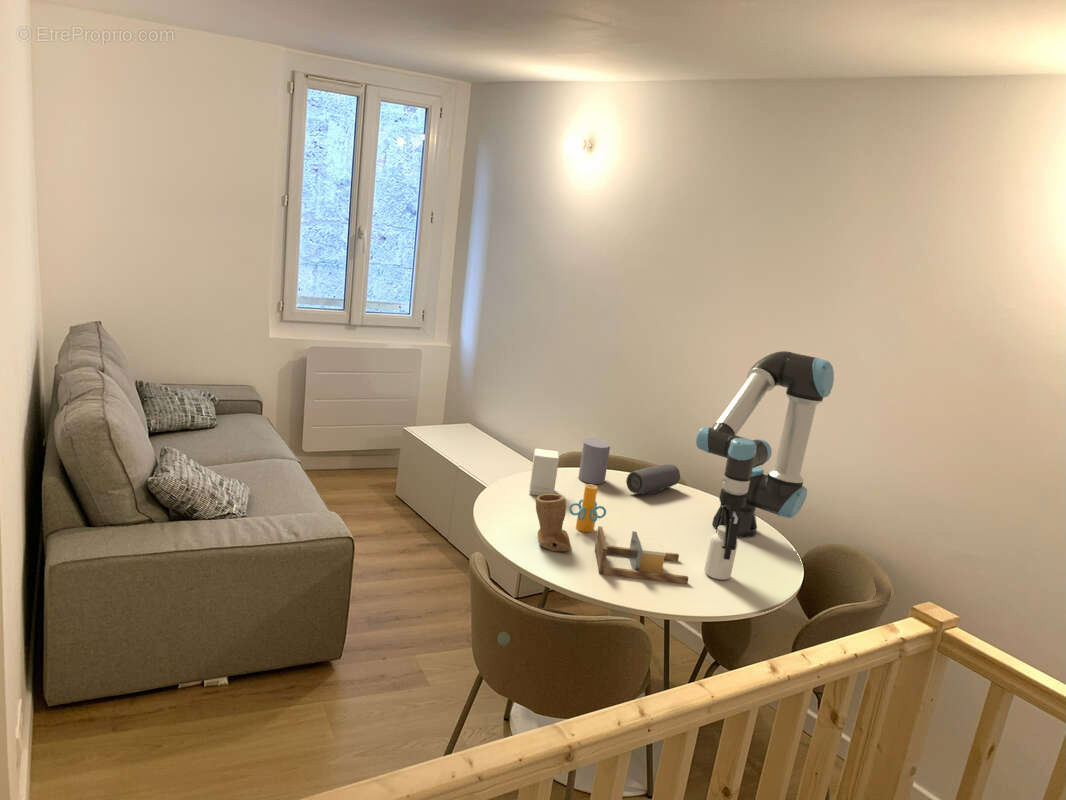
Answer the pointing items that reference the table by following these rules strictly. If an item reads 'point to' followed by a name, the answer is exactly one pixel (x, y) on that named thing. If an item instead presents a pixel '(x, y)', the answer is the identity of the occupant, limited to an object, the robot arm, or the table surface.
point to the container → (594, 461)
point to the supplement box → (544, 472)
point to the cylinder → (587, 510)
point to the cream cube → (652, 556)
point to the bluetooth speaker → (653, 479)
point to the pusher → (635, 551)
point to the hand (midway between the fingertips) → (720, 561)
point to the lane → (601, 553)
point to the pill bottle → (718, 556)
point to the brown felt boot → (552, 522)
